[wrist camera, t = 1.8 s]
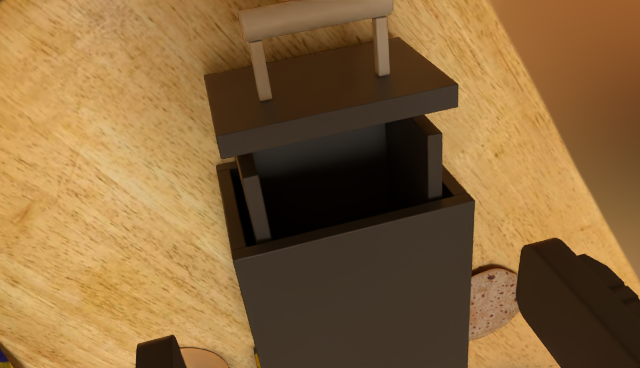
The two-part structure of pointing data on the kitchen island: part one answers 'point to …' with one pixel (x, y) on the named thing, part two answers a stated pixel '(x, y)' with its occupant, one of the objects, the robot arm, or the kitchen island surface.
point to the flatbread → (492, 301)
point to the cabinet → (359, 285)
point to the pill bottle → (202, 359)
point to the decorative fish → (4, 361)
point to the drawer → (329, 121)
